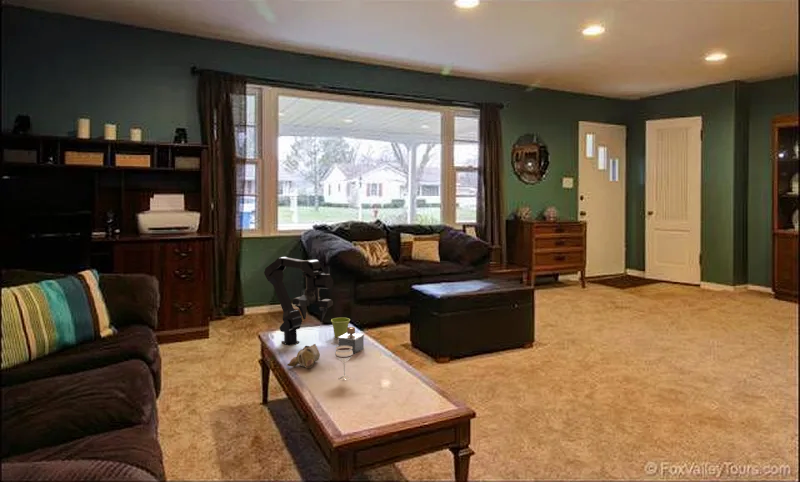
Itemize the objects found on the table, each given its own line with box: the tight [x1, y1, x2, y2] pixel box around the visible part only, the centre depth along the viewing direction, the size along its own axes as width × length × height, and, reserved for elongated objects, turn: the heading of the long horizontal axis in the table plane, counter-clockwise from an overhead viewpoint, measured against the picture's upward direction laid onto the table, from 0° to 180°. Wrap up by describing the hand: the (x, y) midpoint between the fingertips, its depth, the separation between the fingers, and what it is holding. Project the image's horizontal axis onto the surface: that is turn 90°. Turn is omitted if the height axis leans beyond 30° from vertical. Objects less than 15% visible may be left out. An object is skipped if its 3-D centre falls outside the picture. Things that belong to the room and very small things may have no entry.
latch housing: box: [337, 332, 365, 355], centre depth 234 cm, size 9×11×7 cm
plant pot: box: [330, 317, 351, 339], centre depth 255 cm, size 9×9×9 cm
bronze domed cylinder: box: [347, 326, 356, 336], centre depth 232 cm, size 4×4×9 cm
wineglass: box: [335, 345, 354, 381], centre depth 198 cm, size 7×7×12 cm
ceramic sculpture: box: [286, 343, 321, 369], centre depth 213 cm, size 11×9×15 cm
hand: (313, 320), depth 237 cm, fingers open, 9 cm apart
